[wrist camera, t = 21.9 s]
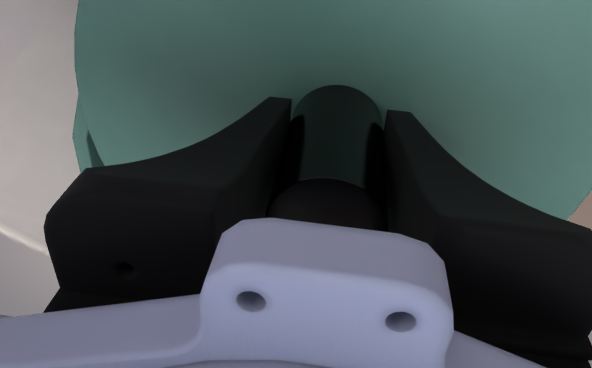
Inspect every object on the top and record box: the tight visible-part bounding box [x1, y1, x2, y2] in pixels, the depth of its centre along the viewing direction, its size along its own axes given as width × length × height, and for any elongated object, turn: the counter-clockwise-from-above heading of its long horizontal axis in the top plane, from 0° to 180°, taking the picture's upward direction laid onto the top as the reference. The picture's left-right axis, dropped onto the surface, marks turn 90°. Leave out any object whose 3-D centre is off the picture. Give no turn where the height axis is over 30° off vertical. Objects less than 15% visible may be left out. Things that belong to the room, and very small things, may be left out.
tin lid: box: [74, 0, 592, 232], centre depth 13 cm, size 15×15×6 cm
